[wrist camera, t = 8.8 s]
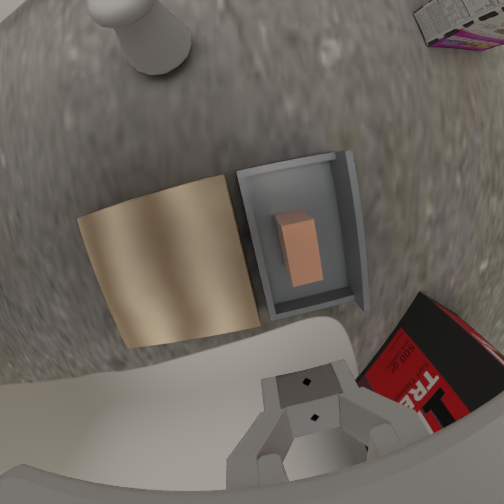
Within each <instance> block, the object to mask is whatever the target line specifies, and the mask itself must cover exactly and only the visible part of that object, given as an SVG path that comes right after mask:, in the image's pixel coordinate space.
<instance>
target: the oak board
mask: <svg viewBox="0 0 504 504" xmlns="http://www.w3.org/2000/svg"><path fill="white" fill-rule="evenodd" d="M77 221H78V224H79V228H80V231H81V234H82V237H83V240H84V243H85V246H86V249H87V252H88V255H89V258H90V261H91V264H92V267H93V269H94V272H95V275H96V277H97V280H98V282H99V285H100V288H101V290H102V293H103V295H104V297H105V300H106V302H107V305H108V307H109V309H110V312H111V314H112V316H113V318H114V321H115V323H116V325H117V327H118V329H119V331H120V334H121V336H122V338H123V340H124V342H125V344H126V346H127V348H128V349H130V348H138V347H145V346H152V345H159V344H166V343H173V342H179V341H185V340H191V339H197V338H203V337H208V336H214V335H219V334H225V333H230V332H235V331H240V330H245V329H250V328H254V327H259V326H261V323H260V316H259V309H258V305H257V301H256V297H255V293H254V289H253V285H252V281H251V277H250V273H249V269H248V265H247V261H246V256H245V252H244V248H243V244H242V240H241V236H240V232H239V228H238V223H237V219H236V215H235V211H234V207H233V203H232V198H231V194H230V190H229V186H228V182H227V178H226V173H224V174H220V175H216V176H212V177H208V178H204V179H200V180H197V181H193V182H189V183H185V184H182V185H178V186H175V187H171V188H167V189H164V190H161V191H157V192H154V193H150V194H147V195H144V196H141V197H137V198H134V199H131V200H128V201H125V202H122V203H118V204H115V205H112V206H109V207H106V208H104V209H101V210H98V211H95V212H92V213H89V214H87V215H85V216H82V217H80V218H77Z"/></svg>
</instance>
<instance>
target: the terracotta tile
mask: <svg viewBox="0 0 504 504" xmlns="http://www.w3.org/2000/svg"><path fill="white" fill-rule="evenodd" d="M274 219H275V224H276V228H277V233H278V238H279V243H280V248H281V253H282V258H283V263H284V267H285V269H286V271H287V274H288V276H289V278H290V281H291V283H292V286H293V287H295V286H300V285H304V284H308V283H312V282H316V281H320V280H323V274H322V267H321V260H320V254H319V247H318V241H317V235H316V229H315V223H314V219H313V218H312V217H310V216H309V215H308V214H307V213H305V212H304V211H303V210H301V209H296V210H292V211H287V212H283V213H278V214H274Z"/></svg>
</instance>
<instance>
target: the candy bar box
mask: <svg viewBox="0 0 504 504" xmlns="http://www.w3.org/2000/svg"><path fill="white" fill-rule="evenodd" d="M413 15H414V18H415V20H416V22H417V24H418V26H419V28H420V30H421V32H422V35H423V37H424V39H425V42H426V44H427V46H434V47H450V48H461V49H470V50H477V51H484V50H486V49H490V48H493V47H496V46H499V45H503V44H504V0H430V1H429V2H428V3H426V4H425V5H424V6H422V7H421V8H419V9H418V10H417V11H415V12H414V13H413Z"/></svg>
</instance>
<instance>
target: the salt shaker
mask: <svg viewBox="0 0 504 504" xmlns="http://www.w3.org/2000/svg"><path fill="white" fill-rule="evenodd" d="M87 12H88V13H89V15H90V16H91V18H92V19H93V20H94V21H95V22H96V23H97V24H99V25H100V26H102V27H108V28H114V30H115V33H116V35H117V37H118V39H119V41H120V44H121V46H122V48H123V50H124V52H125V54H126V56H127V59H128V61H129V63H130V64H131V65H132V66H133V67H134V68H135V69H136V70H137V71H138V72H142V73H145V74H148V75H158V74H166V73H168V72H169V71H171V70H173V69H175V68H177V67H178V66H179V65H180V64H181V63H182V62H183V61H184V60H185V59H186V58H187V57H188V54H189V51H190V47H191V43H192V41H191V36H190V31H189V29H188V28H187V27H186V26H184V25H183V24H182V23H181V22H180V21H179V20H178V19H177V18H176V17H175V16H174V15H173V14H172V13H171V12H170V11H169V10H168V9H166V8H165V7H164V6H163V5H162V4H161V3H160V2H159V1H158V0H87Z"/></svg>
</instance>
